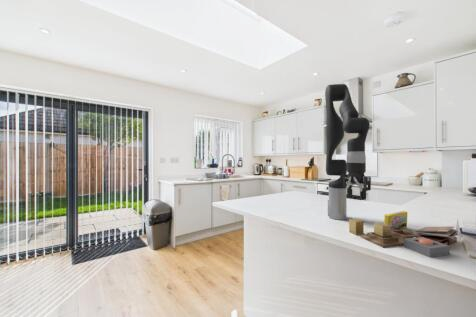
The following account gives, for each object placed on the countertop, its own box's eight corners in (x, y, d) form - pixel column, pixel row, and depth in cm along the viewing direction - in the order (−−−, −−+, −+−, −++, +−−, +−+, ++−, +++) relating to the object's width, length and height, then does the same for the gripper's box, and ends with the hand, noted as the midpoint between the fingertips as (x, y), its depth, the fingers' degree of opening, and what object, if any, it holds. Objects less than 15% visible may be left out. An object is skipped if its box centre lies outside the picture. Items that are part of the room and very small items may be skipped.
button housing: (403, 246, 81) (403, 238, 81) (422, 244, 83) (422, 236, 83) (429, 257, 72) (429, 248, 72) (449, 254, 74) (449, 245, 74)
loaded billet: (374, 237, 88) (374, 223, 88) (382, 236, 89) (381, 222, 89) (382, 241, 84) (382, 226, 84) (390, 240, 85) (390, 225, 85)
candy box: (388, 234, 95) (388, 215, 95) (383, 232, 97) (383, 214, 97) (407, 228, 102) (407, 211, 102) (402, 227, 104) (402, 210, 104)
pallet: (360, 237, 91) (360, 231, 91) (401, 233, 96) (401, 227, 96) (383, 247, 80) (383, 241, 80) (428, 242, 85) (428, 236, 85)
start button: (415, 247, 79) (415, 238, 79) (424, 246, 80) (424, 237, 80) (427, 252, 75) (427, 242, 75) (436, 251, 76) (436, 241, 76)
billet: (349, 232, 97) (349, 219, 97) (356, 231, 98) (356, 218, 98) (355, 235, 93) (355, 221, 93) (363, 234, 94) (363, 221, 94)
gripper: (337, 161, 102) (338, 195, 102) (361, 162, 88) (361, 201, 88) (351, 161, 103) (351, 195, 103) (376, 162, 89) (376, 201, 89)
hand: (356, 198), depth 96 cm, fingers open, 7 cm apart
